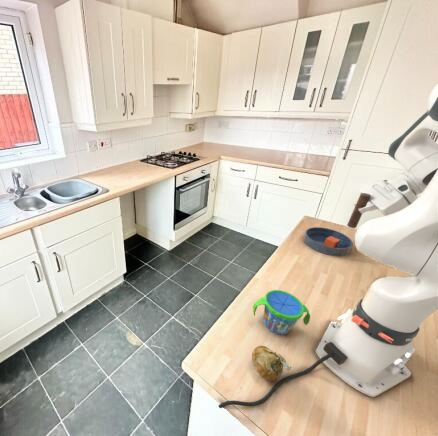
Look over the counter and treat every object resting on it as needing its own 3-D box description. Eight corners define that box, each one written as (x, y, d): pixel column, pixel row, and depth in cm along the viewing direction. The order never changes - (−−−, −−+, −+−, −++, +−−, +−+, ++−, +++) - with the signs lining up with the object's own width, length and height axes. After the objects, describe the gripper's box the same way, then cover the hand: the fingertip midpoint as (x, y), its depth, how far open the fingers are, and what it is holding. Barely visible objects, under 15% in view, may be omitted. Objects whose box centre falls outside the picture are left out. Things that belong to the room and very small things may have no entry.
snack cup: (300, 318, 79) (310, 296, 74) (307, 347, 70) (318, 324, 65) (249, 306, 84) (255, 284, 79) (249, 331, 75) (256, 308, 70)
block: (332, 249, 110) (335, 242, 108) (323, 245, 113) (326, 238, 111) (337, 247, 112) (340, 239, 110) (327, 242, 115) (330, 235, 113)
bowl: (336, 262, 103) (340, 253, 101) (294, 241, 117) (297, 234, 115) (356, 248, 111) (360, 240, 109) (315, 231, 125) (318, 223, 123)
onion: (271, 354, 68) (278, 336, 65) (286, 385, 61) (295, 367, 58) (245, 355, 68) (250, 337, 65) (257, 386, 61) (263, 368, 58)
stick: (354, 228, 97) (368, 196, 90) (345, 225, 99) (359, 194, 92) (357, 226, 98) (372, 194, 91) (349, 223, 100) (362, 192, 93)
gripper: (381, 172, 95) (343, 193, 103) (412, 192, 78) (363, 214, 86) (390, 184, 96) (351, 203, 104) (422, 206, 79) (373, 227, 87)
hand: (357, 208), depth 95 cm, fingers closed on stick, 3 cm apart
